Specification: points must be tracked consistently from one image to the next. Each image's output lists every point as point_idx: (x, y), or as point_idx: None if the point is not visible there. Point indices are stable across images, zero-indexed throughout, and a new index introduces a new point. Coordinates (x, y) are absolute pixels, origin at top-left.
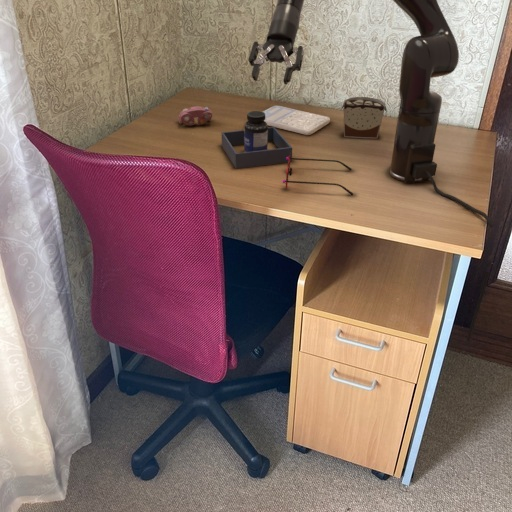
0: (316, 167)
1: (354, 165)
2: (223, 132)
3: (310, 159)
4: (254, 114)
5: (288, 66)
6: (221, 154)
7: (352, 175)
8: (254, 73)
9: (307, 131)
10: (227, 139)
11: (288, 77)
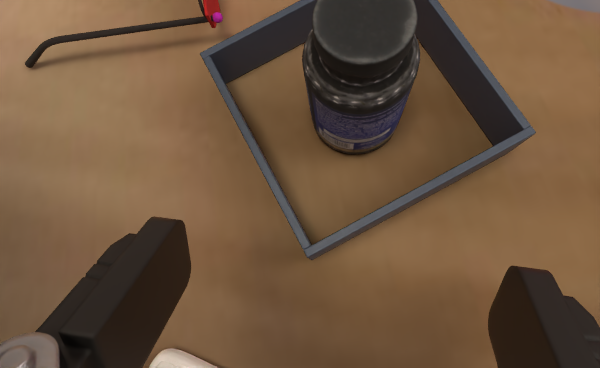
0: (135, 64)
1: (16, 108)
2: (526, 133)
3: (139, 26)
4: (371, 8)
5: (50, 353)
6: None
7: (30, 39)
8: (551, 298)
9: (170, 351)
10: (477, 63)
11: (118, 251)
